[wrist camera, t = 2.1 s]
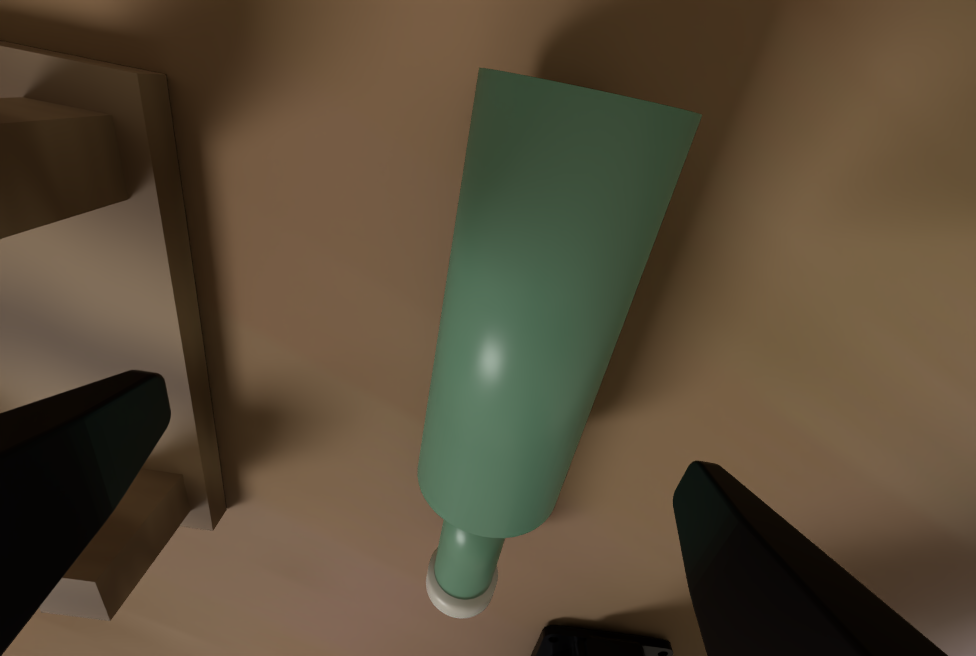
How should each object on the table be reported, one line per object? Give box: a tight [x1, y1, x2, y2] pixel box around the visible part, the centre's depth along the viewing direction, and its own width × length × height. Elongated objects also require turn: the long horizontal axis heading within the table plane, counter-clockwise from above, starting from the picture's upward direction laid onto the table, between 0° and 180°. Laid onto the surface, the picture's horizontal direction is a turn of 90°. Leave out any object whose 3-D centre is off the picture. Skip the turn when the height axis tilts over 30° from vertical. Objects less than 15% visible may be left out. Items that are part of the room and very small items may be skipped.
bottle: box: [418, 68, 702, 618], centre depth 13 cm, size 17×4×4 cm
